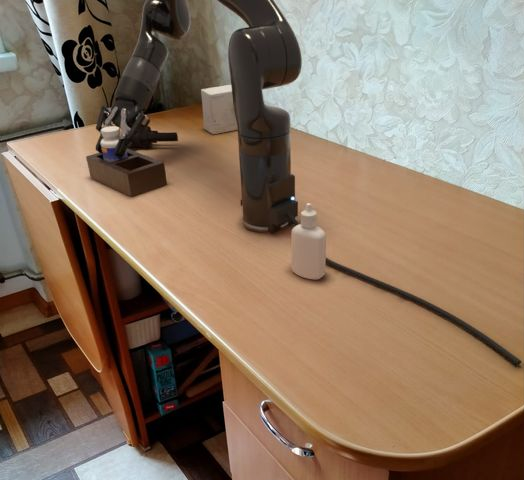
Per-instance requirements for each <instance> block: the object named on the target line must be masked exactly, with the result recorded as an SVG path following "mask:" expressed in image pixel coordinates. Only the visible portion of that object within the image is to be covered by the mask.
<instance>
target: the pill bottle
mask: <svg viewBox="0 0 524 480" xmlns="http://www.w3.org/2000/svg"><path fill="white" fill-rule="evenodd" d="M102 128H103V127H102ZM101 132H102V136H103V137H104V138H103V139H102V140H101V148H102V153H103V158H104V160H106V161H108V162H113V161H117V160H120V159H123V158H126V157H128V155H127V150H126V152H125V155H124V156H123V157H122V158H118V157H116V156H115V155H114V150H115V148H116V146H117V143H118V141H119V139H122V138H121V128H120V129H119V127H116V125H113V126H110V127H105V128H103V129H101Z"/></svg>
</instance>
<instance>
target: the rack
mask: <svg viewBox="0 0 524 480" xmlns="http://www.w3.org/2000/svg"><path fill="white" fill-rule="evenodd" d="M127 155H128V157H126V158H123V159H120V160H117V161H113V162H108V161H106V160H104V158H103V154H101V153H99V152H96V153H93V154H89V155H87V156H85V159H86V163H87V168H88V171H89V172H88V173H89V177H90V179H92V180H95V181H96V182H99V183H101V184H103V185H105V186H107V187H109V188H111V189H114V190H115V191H118V192H120V193H122V194H124V195H126V196H128V197H131V198H133V197H137V196H139V195H142V194H145V193H147V192H150V191H152V190H156V189H159V188H161V187H164V186H167V185H168V181H167V175H166V167H165V163H164V161H161V160H159V159H156V158H154V157H151V156H149V155H146V154H142V153H140V152H138V151H135V150H133V149H130V148H127Z"/></svg>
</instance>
